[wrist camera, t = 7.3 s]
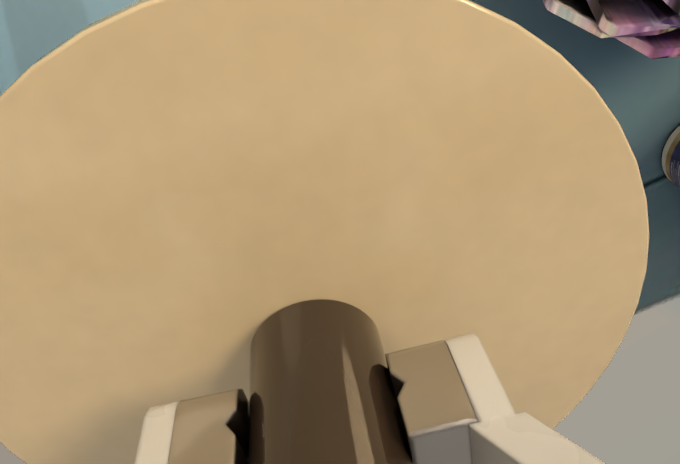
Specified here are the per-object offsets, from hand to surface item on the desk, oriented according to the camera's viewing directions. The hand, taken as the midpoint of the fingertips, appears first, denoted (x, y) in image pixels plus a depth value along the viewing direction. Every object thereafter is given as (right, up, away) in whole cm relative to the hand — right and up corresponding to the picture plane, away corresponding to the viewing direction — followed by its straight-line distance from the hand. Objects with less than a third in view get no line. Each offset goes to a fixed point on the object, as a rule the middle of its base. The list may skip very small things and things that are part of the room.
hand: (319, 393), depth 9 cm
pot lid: (0, +1, +1) cm, 2 cm away
